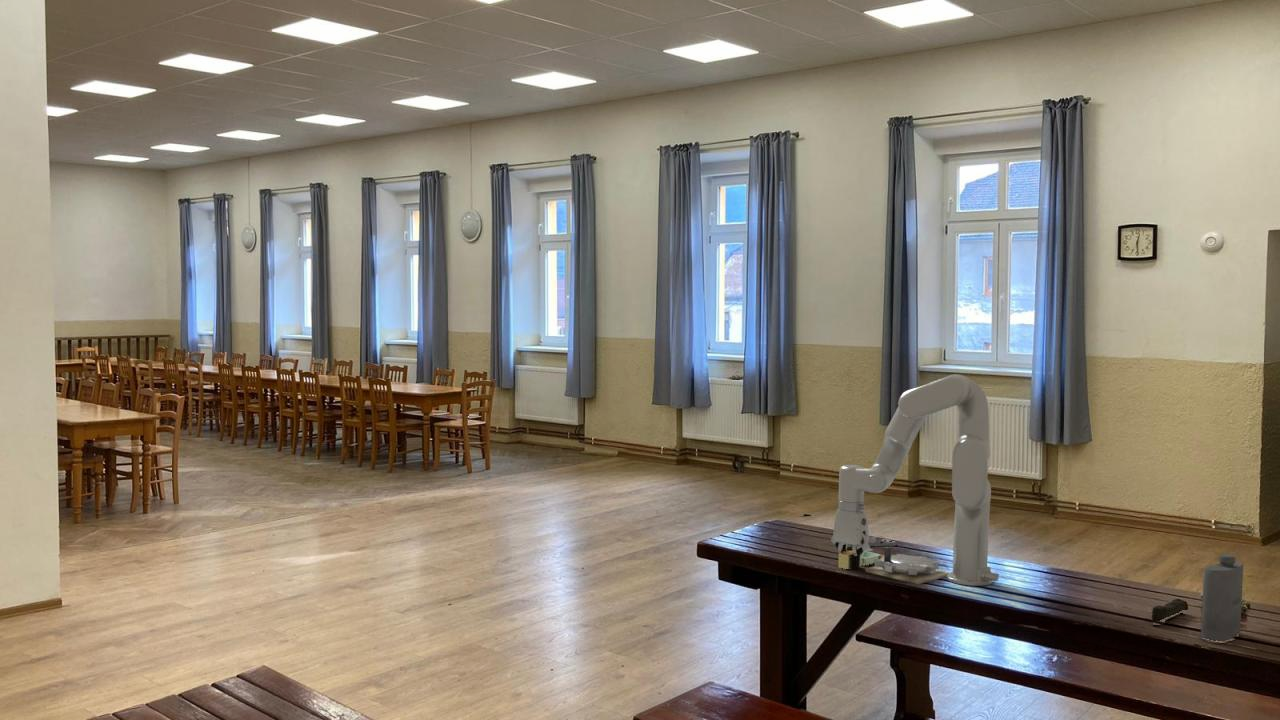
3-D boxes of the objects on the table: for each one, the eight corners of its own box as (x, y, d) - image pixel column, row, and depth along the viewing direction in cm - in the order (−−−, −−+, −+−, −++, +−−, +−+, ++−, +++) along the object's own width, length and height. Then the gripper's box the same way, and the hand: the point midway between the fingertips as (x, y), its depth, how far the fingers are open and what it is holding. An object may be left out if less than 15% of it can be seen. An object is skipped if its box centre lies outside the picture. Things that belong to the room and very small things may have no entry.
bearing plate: (948, 575, 312) (949, 570, 312) (917, 584, 301) (918, 578, 301) (897, 564, 325) (897, 559, 325) (865, 571, 315) (865, 566, 315)
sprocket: (921, 559, 324) (921, 540, 323) (949, 574, 306) (950, 553, 305) (864, 560, 320) (865, 541, 320) (890, 575, 302) (891, 554, 302)
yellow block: (860, 567, 320) (860, 551, 320) (848, 569, 316) (848, 554, 316) (850, 564, 323) (850, 549, 323) (838, 567, 319) (838, 552, 319)
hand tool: (1172, 612, 279) (1172, 594, 279) (1188, 615, 276) (1188, 597, 276) (1141, 625, 267) (1141, 607, 266) (1157, 628, 264) (1158, 610, 263)
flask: (1223, 646, 250) (1227, 562, 249) (1197, 640, 254) (1201, 557, 253) (1246, 634, 260) (1250, 553, 259) (1220, 628, 264) (1224, 549, 263)
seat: (881, 561, 328) (881, 554, 328) (863, 565, 322) (864, 558, 322) (864, 558, 333) (864, 550, 333) (846, 561, 327) (846, 554, 327)
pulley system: (823, 554, 341) (868, 558, 333) (823, 539, 341) (868, 543, 333) (857, 543, 364) (900, 546, 355) (857, 529, 364) (899, 532, 355)
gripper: (881, 509, 315) (879, 570, 316) (836, 501, 328) (835, 560, 328) (866, 511, 310) (864, 574, 311) (821, 503, 323) (819, 563, 323)
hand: (849, 566), depth 320 cm, fingers closed on yellow block, 3 cm apart
